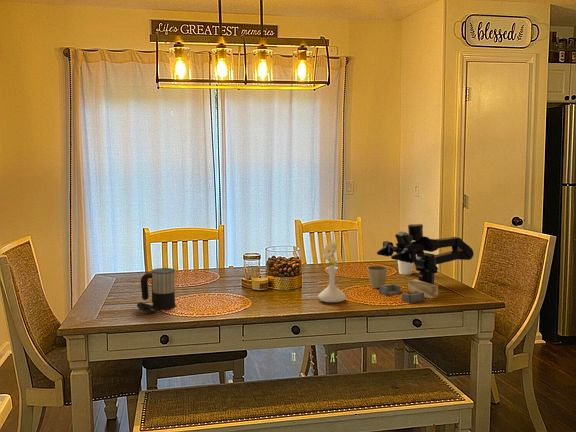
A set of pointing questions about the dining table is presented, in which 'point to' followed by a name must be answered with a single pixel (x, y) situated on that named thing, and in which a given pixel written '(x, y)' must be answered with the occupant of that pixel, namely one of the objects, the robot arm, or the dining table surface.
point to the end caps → (407, 298)
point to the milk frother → (158, 290)
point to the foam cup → (405, 267)
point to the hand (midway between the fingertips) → (384, 255)
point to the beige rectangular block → (423, 288)
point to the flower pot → (377, 275)
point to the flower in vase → (331, 277)
